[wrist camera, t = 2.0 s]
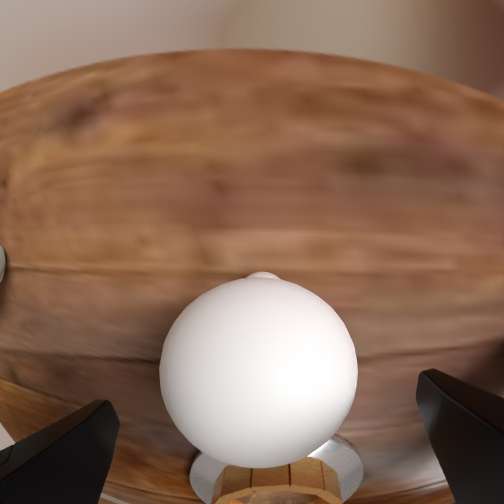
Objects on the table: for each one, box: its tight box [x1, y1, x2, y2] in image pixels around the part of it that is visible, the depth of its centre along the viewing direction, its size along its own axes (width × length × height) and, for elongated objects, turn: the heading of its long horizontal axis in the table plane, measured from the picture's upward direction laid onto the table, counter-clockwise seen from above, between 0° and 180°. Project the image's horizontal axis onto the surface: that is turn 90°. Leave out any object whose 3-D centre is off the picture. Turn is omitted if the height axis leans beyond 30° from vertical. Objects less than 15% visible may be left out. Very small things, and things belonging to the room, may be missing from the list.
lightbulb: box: [159, 272, 358, 468], centre depth 12 cm, size 6×6×11 cm
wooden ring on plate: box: [190, 434, 363, 504], centre depth 19 cm, size 14×14×4 cm
